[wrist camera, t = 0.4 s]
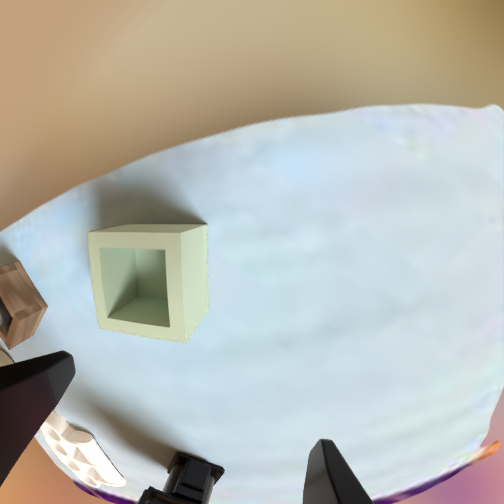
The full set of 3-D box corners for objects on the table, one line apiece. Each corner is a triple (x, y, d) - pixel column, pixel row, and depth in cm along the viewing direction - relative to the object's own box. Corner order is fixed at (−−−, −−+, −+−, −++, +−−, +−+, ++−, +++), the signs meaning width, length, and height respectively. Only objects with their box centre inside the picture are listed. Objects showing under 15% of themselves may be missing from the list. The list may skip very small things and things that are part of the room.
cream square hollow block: (209, 309, 23) (186, 343, 17) (135, 301, 23) (98, 328, 18) (207, 224, 21) (180, 232, 16) (130, 223, 22) (87, 232, 16)
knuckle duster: (136, 487, 31) (79, 468, 33) (86, 417, 29) (33, 401, 31) (130, 499, 28) (72, 478, 30) (75, 431, 25) (22, 411, 27)
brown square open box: (48, 306, 25) (19, 320, 20) (33, 335, 27) (9, 349, 22) (19, 261, 25) (-10, 270, 20) (7, 293, 26) (-18, 304, 21)
